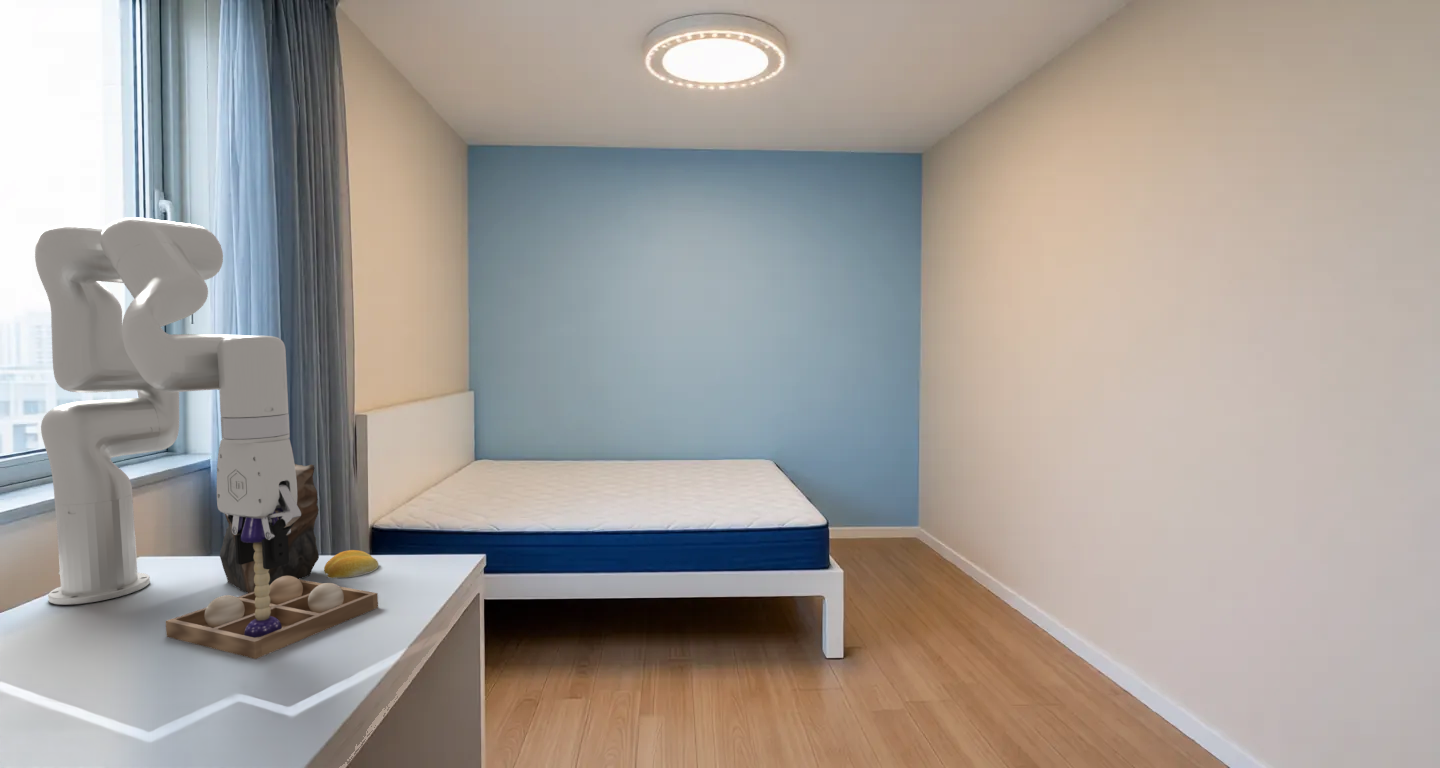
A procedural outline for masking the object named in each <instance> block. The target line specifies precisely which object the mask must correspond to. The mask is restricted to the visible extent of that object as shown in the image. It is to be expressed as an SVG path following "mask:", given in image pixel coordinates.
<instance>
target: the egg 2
mask: <svg viewBox="0 0 1440 768" xmlns="http://www.w3.org/2000/svg"><path fill="white" fill-rule="evenodd" d="M300 580H301V579H300ZM300 580H299V579H297V578H295V577H293V576H282V577H279V578H277V579H276V580H274V581H273V582H272V583H271V585H270V593H269V596H270V603H271V604H275V605H279V604H282V603H284V602H287V601H290V600H293V599H295V598H298V597H301V596H302V593H303V586H302V583H301V582H300Z"/></svg>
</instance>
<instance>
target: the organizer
mask: <svg viewBox="0 0 1440 768" xmlns="http://www.w3.org/2000/svg"><path fill="white" fill-rule="evenodd" d="M299 580H300V582H301V583H302V586H303V593H302V596H301V597H298V598H295V599H293V600H290V601H287V602H284V603H282V604H279V605H275V604H271V603H270V605H269V607H270V610H271V613H270V616H272V617H275V618H277V619H278V620H279V621H280V623H281V626H282V628H281V629H279V630H277V631H274V632H272V633H269V634H267V635H264V636H262V637H256V638H253V637H249V636H245V635H244V632H245V629H246V627H247V625H248V624H249V623H250V622H251V621H253V620H254V619H256V617H255V610H256V607H255V598H256V596H255V593H254V592H251V593H246V594H245V593H244V594H243V595H239V596H237V597H238V598H239V599H240V600H241V601H242V602H243V604H244V607H245V612H244V615H243V617H242V618H240V619H237V620H234V621H231V622H229V623H226V624H223V625H220V626H218V627H215V628H212V627H210V626H209V625H208V624H207V623H206V621H205V617H204V616H205V610H206V608H207V606H206V607H203V608H201V609H197V610H195V611H191V612H188V613H185V614H182V615H180V616H176V617H173V618H170V619H168V620H165V632H166V633H165V634H166V637H167V638H170V639H173V640H177V641H181V642H185V643H189V644H193V645H197V646H202V647H205V648H209V649H214V650H218V651H220V652H225V653H230V654H233V655H237V656H241V657H245V658H249V659H253V660H257V659H260V658H262V657H264V656H267V655H270V654H272V653H273V652H276V651H279V650H281V649H284V648H285V647H288V646H291V645H293V644H295V643H298V642H300V641H302V640H306V639H307V638H309V637H312V636H314V635H315V636H316V635H317V634H319V633H321V632H323V631H326V630H328V629H332V628H333V627H334V628H335V627H337V626H338V625H341V624H343V623H345V622H347V621H350V620H352V619H355V618H357V617H360V616H362V615H364V614H366V613H369V612H371V611H373V610H376V609H378V608H379V597H378V596H379V595H378V592H373V591H368V590H362V589H357V588H351V587H346V586H345V587H344V586H339V585H338V586H339V587H340V588H341V589H342V591H343V594H344V600H343V603H342V605H340V606H338V607H335V608H333V609H330V610H328V611H325V612H323V613H315V612H312V611H311V610H310V608H309V606H308V597H309V595H310V593H311V591H312V590H313V589H314V588H315V587H317V586H318V585H320V584H323V583H322V582H318V581H317V582H316V581H312V580H310V581H309V580H304V579H299Z"/></svg>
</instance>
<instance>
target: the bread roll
mask: <svg viewBox="0 0 1440 768" xmlns="http://www.w3.org/2000/svg"><path fill="white" fill-rule="evenodd" d="M323 568H324V569H323V573H324V574H326V575H327V578H330V579H344V578H347V579H348V578H353V577H358V576H362V575H366V574H368V573H371V572H373V571H376V570H377V569H379V562H378V560H377V559H376V558H375V557H373V556H372V555H371V554H369V553H367V552H366V551H363V550H356V549H350V550H344V551H340V552H338V553H337V554H335V555H334V556H332V557H331V558H330V559H329V560H327V562H326V563H325V565H324V567H323Z"/></svg>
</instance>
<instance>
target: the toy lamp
mask: <svg viewBox="0 0 1440 768" xmlns="http://www.w3.org/2000/svg"><path fill="white" fill-rule="evenodd" d="M274 513H276V512H275V510H274V512H273V513H271V514H274ZM269 515H270V514H269ZM277 520H278V518H273V519H272V524H273V526H274V524H275V523H276V521H277ZM263 539H266V537H265V533H264V529H263V524H262V519H257V518H248V517H246V519H245V523H244V527H243V530H242V534H241V541H242V542H246V543H253V548H254V550H255V553H254V561H255V564H254V572H255V573H256V574H255V576H254V583H255V585H256V586H255V589H254V593H255V596H256V598H255V607H256V610H255V617H256V619H254V620H253V621H251V622H250V623H249V624H248V625H247V627H246V629H245V632H244V635H245V636H249V637H253V638H256V637H262V636H264V635H267V634H269V633H272V632H274V631H277V630H279V629H281V628H282V626H281V623H280V621H279V620H278V619H277V618H275V617H272V616H270V613H271V610H270V607H269V605H270V596H269V593H270V585H269V584H268V583H269V581H270V575H269V573H268V571H269V569H264V568H263V556H262V540H263Z"/></svg>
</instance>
